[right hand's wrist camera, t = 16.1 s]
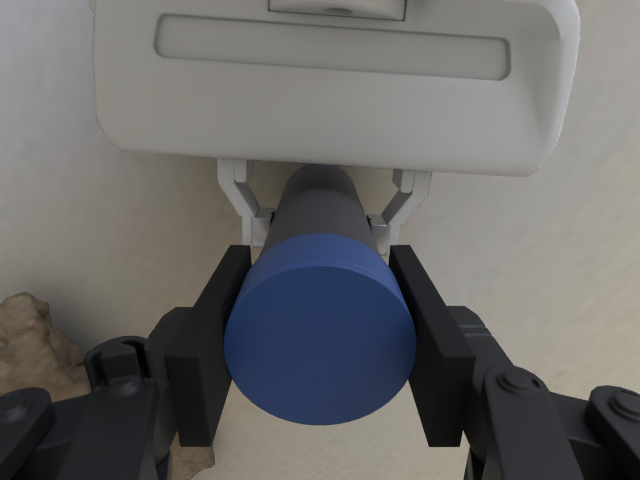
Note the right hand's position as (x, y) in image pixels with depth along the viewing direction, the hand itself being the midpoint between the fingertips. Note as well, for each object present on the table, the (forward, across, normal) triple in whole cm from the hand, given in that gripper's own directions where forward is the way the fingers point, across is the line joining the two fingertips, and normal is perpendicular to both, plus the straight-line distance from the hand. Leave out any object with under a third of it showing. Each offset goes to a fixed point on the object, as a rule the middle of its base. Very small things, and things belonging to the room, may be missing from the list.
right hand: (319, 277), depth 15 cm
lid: (-4, 0, 0) cm, 4 cm away
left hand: (+5, 0, -1) cm, 5 cm away
